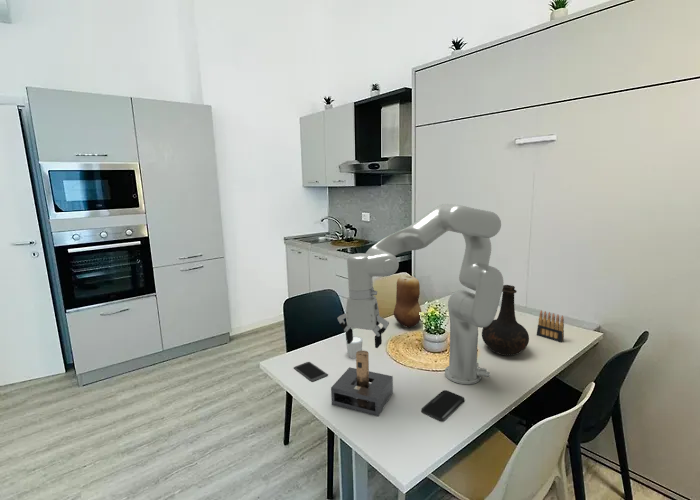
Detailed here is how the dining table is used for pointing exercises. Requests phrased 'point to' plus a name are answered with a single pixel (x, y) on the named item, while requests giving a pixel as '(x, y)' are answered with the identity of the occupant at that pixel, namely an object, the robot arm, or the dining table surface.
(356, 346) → the white cylinder
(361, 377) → the brown long cylinder
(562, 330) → the ammunition clip
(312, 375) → the cell phone
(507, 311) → the glass bottle
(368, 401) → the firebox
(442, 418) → the phone
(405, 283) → the butternut squash
